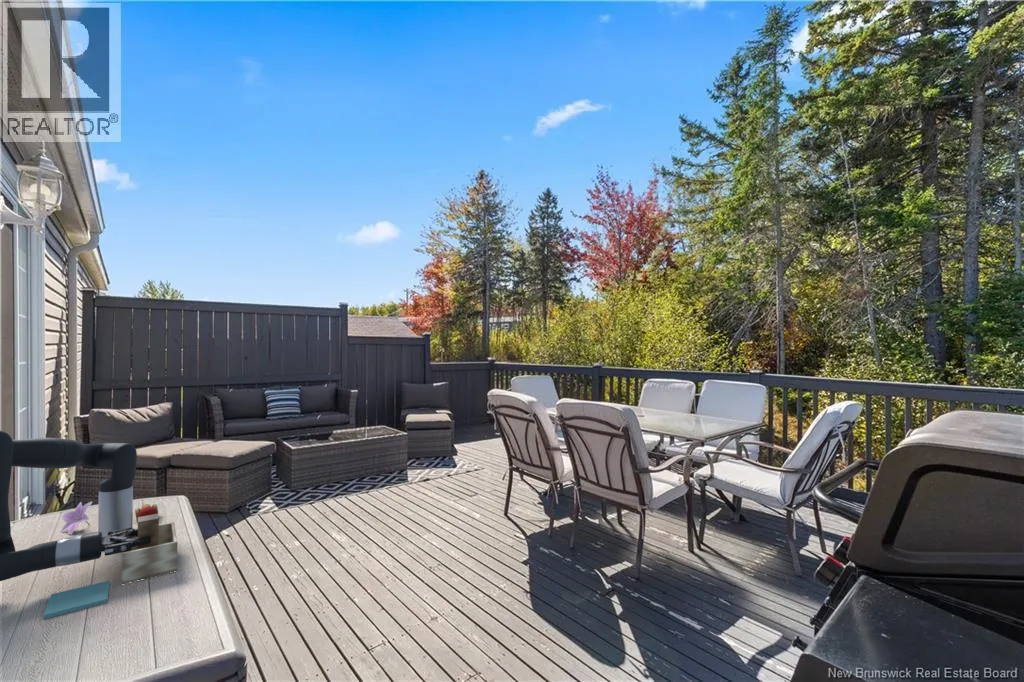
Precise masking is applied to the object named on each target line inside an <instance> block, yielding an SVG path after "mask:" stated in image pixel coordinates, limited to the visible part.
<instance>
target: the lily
mask: <svg viewBox="0 0 1024 682" xmlns="http://www.w3.org/2000/svg"><path fill="white" fill-rule="evenodd" d="M92 503H93V501H88V503H85V504H84V505H83V504H82V501H80V502H79V503H78V504H77V506H76V507H75V510H72V511H69V512H66V513H63V514H62V515H61V518H62V520H63V522H65V524H64V526H63V527H62V529H61V530H60V533H64V532H65V531H66V530H67V534H68V535H69V534H71V535H73V533H74V531H75V529H76V528H77V526H78V524H80V523H86V524H88V526H89V525H90V523H89V522H88V520H89V517H88V515H87V514H85V513H86V512H87V510H88V509H89V507H90V506H91V505H92ZM90 526H91V525H90Z"/></svg>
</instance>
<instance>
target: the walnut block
mask: <svg viewBox="0 0 1024 682" xmlns="http://www.w3.org/2000/svg"><path fill="white" fill-rule="evenodd" d="M159 521H160V519H159V513H158V514H153V515H147V516H142V517H138V521H137V529H138V538H140V537H145V536H151V542H150V543H149V544H145V545H140V546H138V549H143V548H147V547H152V546H156V545H158V532H159V525H160V524H159Z"/></svg>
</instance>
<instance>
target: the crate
mask: <svg viewBox="0 0 1024 682" xmlns="http://www.w3.org/2000/svg"><path fill="white" fill-rule="evenodd" d="M134 529H135V530H136V529H137V528H134ZM135 538H138V537H136V536H135V537H133V538H131V539H135ZM174 571H177V572H178V536H177V530H176V524H175V521H172V522H167V523H161V524H159V532H158V545H156V546H152V547H147V548H143V549H138V546H135V547H134V548H132V550H131V551H127V552H122V553H121V585H122V584H125V585H127V584H126V583H129V582H133V583H135V582H134V581H137V580H141V579H145V580H148V579H147V578H149V579H152V578H151V577H153V578H156V577H155V576H157V577H160V576H159V575H161V576H164V575H163V574H165V575H167V574H166V573H169V574H171V573H170V572H173V573H175V572H174ZM141 581H142V580H141ZM137 582H138V581H137ZM129 584H130V583H129Z"/></svg>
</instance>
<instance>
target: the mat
mask: <svg viewBox="0 0 1024 682" xmlns="http://www.w3.org/2000/svg"><path fill="white" fill-rule="evenodd" d="M110 585H111V580H105V581H102V582H101V581H100V582H97V583H93V584H90V585H89V584H88V585H86V586H85V585H84V586H80V587H76V588H72V589H68V590H64V591H60V592H56V593H55V592H54V593H52V594H50V597H49V599H48V602H47V605H46V608H45V610H44V612H43V620H46V619H49V618H53V617H58V616H61V615H64V613H65V614H68V612H69V613H72V612H71V611H73V612H76V611H80V610H84V609H87V608H88V609H89V608H91V607H95V606H99V605H103V604H106V603H108V600H109V591H110ZM57 615H58V616H57Z"/></svg>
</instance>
